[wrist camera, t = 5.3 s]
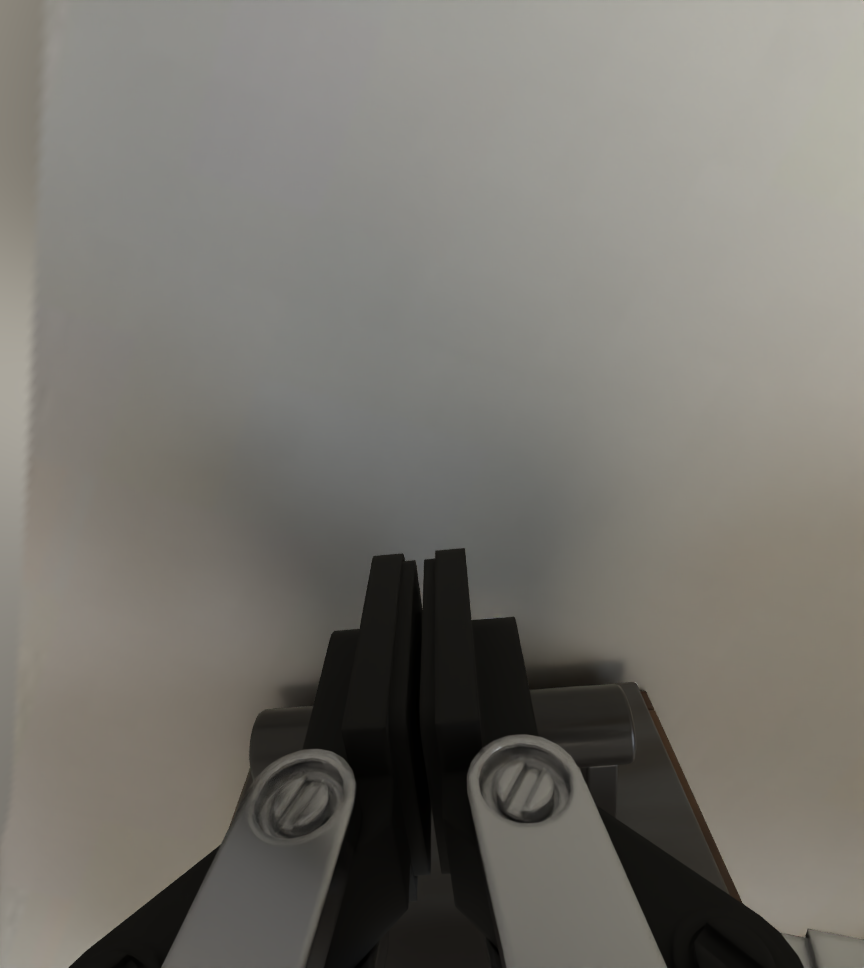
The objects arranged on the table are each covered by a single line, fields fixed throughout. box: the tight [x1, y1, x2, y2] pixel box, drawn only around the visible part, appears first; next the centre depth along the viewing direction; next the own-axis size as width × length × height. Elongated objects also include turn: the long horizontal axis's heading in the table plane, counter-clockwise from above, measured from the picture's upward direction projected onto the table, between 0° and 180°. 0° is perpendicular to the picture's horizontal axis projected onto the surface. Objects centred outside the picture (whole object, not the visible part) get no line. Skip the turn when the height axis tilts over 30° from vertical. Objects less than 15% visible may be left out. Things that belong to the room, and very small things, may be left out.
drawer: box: [231, 682, 730, 968], centre depth 15 cm, size 16×10×7 cm, turn 6°
